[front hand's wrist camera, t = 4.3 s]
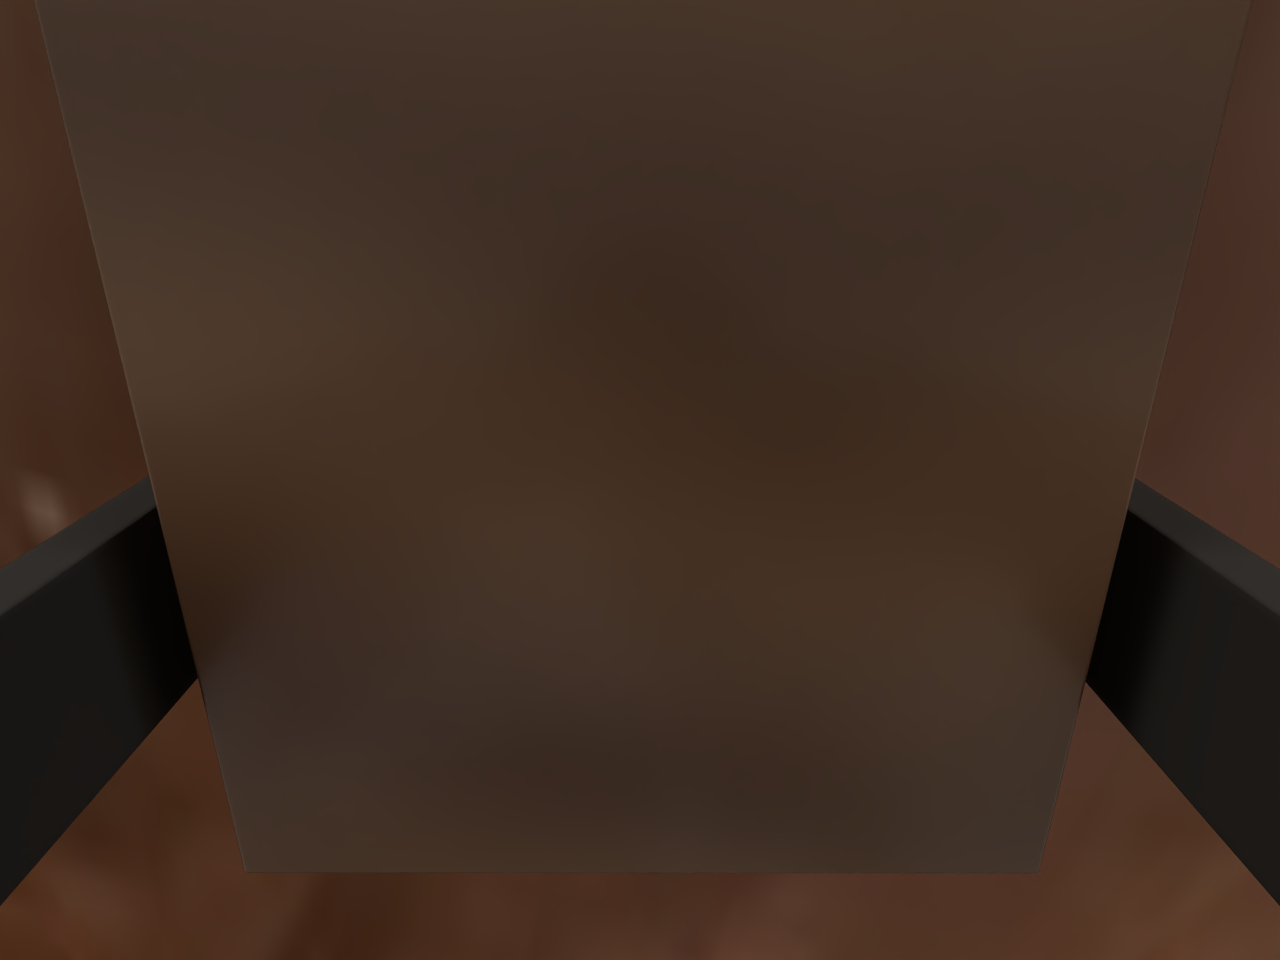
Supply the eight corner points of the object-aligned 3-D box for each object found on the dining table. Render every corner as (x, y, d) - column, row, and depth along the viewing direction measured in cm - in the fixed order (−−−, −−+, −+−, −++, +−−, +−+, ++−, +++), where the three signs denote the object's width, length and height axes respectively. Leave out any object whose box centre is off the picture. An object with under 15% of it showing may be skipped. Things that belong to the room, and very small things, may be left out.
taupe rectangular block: (316, -428, 13) (-402, -1769, 4) (967, -428, 13) (1690, -1769, 4) (425, 555, 20) (244, 874, 11) (857, 555, 20) (1039, 874, 11)
